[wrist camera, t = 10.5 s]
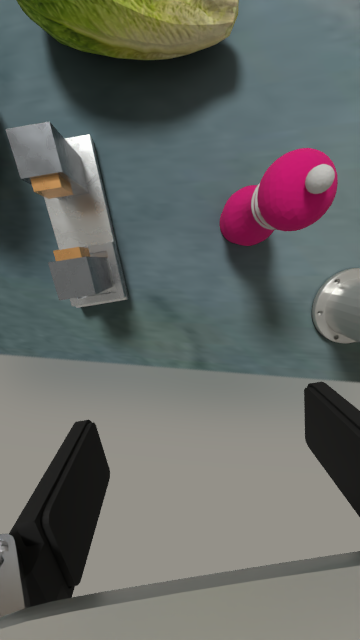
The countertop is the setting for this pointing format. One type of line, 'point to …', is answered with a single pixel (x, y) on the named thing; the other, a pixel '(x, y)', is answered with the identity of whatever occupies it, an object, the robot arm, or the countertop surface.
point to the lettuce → (135, 25)
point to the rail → (71, 197)
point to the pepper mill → (281, 198)
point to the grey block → (79, 273)
